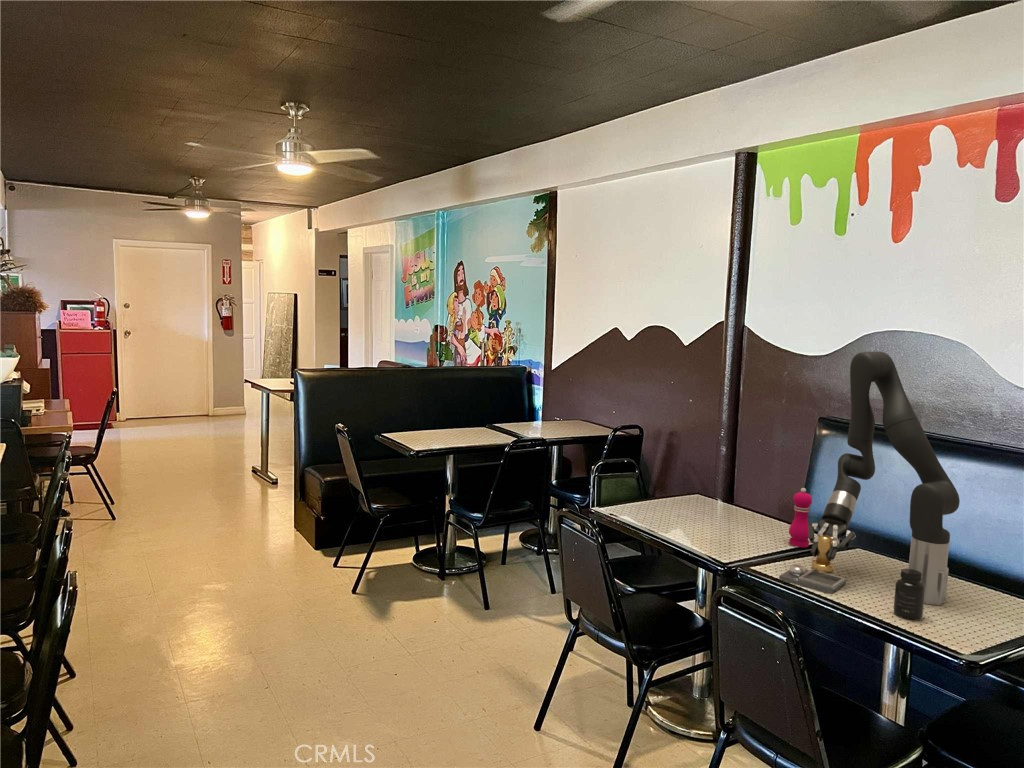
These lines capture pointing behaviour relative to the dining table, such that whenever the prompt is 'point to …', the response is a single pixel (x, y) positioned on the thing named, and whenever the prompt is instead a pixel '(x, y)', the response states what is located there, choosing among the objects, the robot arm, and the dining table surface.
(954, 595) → the dining table surface
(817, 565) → the brass knob
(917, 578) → the supplement bottle
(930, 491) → the robot arm
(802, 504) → the pepper mill
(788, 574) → the carrier
